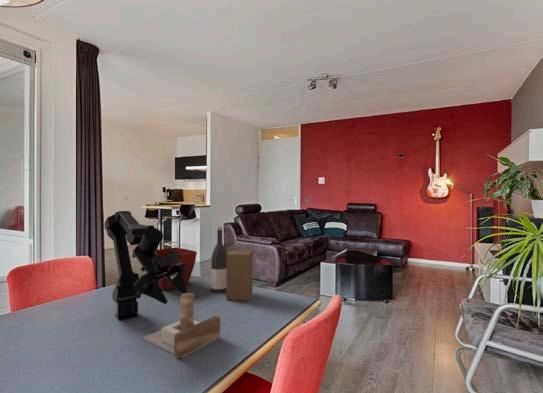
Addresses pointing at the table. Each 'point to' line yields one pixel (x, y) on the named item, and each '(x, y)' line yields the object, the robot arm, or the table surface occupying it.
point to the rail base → (189, 337)
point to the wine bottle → (218, 265)
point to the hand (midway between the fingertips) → (176, 298)
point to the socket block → (171, 332)
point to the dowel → (186, 311)
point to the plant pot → (185, 257)
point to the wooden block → (239, 275)
